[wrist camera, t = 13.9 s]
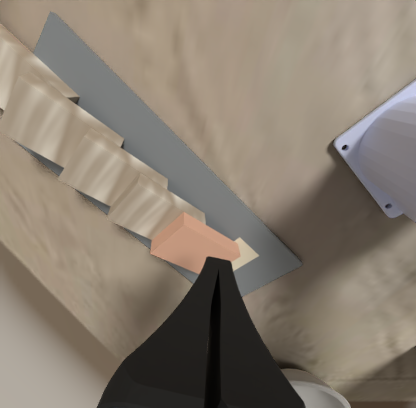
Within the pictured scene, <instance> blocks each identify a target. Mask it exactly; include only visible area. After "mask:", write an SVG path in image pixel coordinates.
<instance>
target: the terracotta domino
mask: <svg viewBox="0 0 416 408" xmlns="http://www.w3.org/2000/svg"><path fill="white" fill-rule="evenodd" d="M150 254H152V255H155V256H157V257H159V258H162V259H164V260H166V261H169V262H171V263H174V264H176V265H178V266H181V267H183V268H185V269H188V270H190V271H193V272H195V273H197V274H200V272H201V270H202V268H203V266H204V263H205V260H206V257H208V256H211V257H215V258H220V259H225V260H229V261H231V262H232V261H234V260H236V259H237V258H239V257H240V256H241V255H240V251H239V247H238V244H237V243H236V242H234V241H232V240H231V239H229V238H227V237H226V236H224V235H222V234H221V233H219V232H217V231H215V230H214V229H212V228H210V227H209V226H207V225H205V224H204V223H202V222H200V221H199V220H197V219H195V218H194V217H192V216H190V215H188V214H187V213H185V212H183V213H182V214H181V215H180V216H179V217H178V218H176V219H175V220H174V221H173V222H172V223H171V224H170V225H168V226H167V227H166V228H165V229H164V230H163V231H162V232H161V233H159V234H158V235H157V236H156V237H155V238H154V239H153V240H152V242H151V250H150Z"/></svg>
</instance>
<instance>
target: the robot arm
mask: <svg viewBox="0 0 416 408" xmlns="http://www.w3.org/2000/svg"><path fill="white" fill-rule="evenodd" d="M333 145H334V147H335V148H336V150H337V151H338V152H339V154H340V155H341V156H342V158H343V159H344V160H345V162H346V163H347V164H348V165H349V167H350V168H351V169H352V171H353V172H354V173H355V175H356V176H357V177H358V179H359V180H360V181H361V183H362V184H363V185H364V187H365V188H366V189H367V190H368V192H369V193H370V194H371V196H372V197H373V198H374V200H375V201H376V202H377V204H378V205H379V206H380V208H381V209H382V210H383V212H384V213H385V214H386V215H387V216H388V217H389V218H395V217H397V216H399V215H401V214H403V213H404V214H405V215H406V216H407V217H409V218H410V219H411V220H412V221H414V222H415V223H416V79H415V80H414V81H412V82H411V83H410V84H408V85H407V86H406V87H404V88H403V89H402V90H400V91H399V92H398V93H396V94H395V95H393V96H392V97H391V98H389V99H388V100H387V101H385V102H384V103H383V104H381V105H380V106H379V107H377V108H376V109H375V110H373V111H372V112H371V113H369V114H368V115H367V116H365V117H364V118H363V119H361V120H360V121H359V122H357V123H356V124H355V125H353V126H352V127H351V128H349V129H348V130H346V131H345V132H344V133H342V134H341V135H340V136H338V137H337V138H336V139H335V140H334V142H333ZM344 145H347V147H346V149H344V150H342V147H343V146H344ZM387 204H389V205H388V206H386V205H387ZM385 206H386V207H385ZM207 347H208V350H207ZM97 408H306V406H305V403H304V401H303V400H302V399H301V397H300V396H299V395H298V393H297V392H296V391H295V389H294V388H293V387H292V385H291V384H290V382H289V381H288V380H287V378H286V377H285V375H284V374H283V372H282V371H281V370H280V368H279V367H278V365H277V364H276V362H275V360H274V359H273V357H272V356H271V354H270V352H269V351H268V349H267V347H266V346H265V344H264V343H263V341H262V339H261V337H260V335H259V334H258V332H257V330H256V328H255V326H254V324H253V322H252V320H251V318H250V316H249V313H248V311H247V309H246V307H245V304H244V302H243V299H242V297H241V294H240V291H239V288H238V285H237V282H236V279H235V276H234V272H233V268H232V263H231V261H229V260H225V259H220V258H215V257H211V256H208V257H206V260H205V263H204V266H203V268H202V270H201V272H200V274H199V276H198V277H197V279H196V281H195V283H194V284H193V286H192V287H191V289H190V290H189V292H188V293H187V295H186V296H185V297H184V299H183V300H182V302H181V303H180V304H179V305H178V307H177V308H176V309H175V310H174V311H173V313H172V314H171V315H170V316H169V317H168V318H167V320H166V321H165V322H164V323H163V324H162V325H161V326H160V327H159V328H158V329H157V330H156V331H155V332H154V333H153V334H152V335H151V336H150V337H149V338H148V339H147V340H146V341H145V342H144V343H143V344H142V345H140V346H139V347H138V348H137V349H136V350H135V351H134V352H132V353H131V354H130V355H129V356H128V357H127V358H126V359H125V360H124V361H123V362H122V364H121V365H120V366H119V368H118V369H117V370H116V372H115V374H114V375H113V377H112V378H111V380H110V381H109V383H108V385H107V387H106V389H105V390H104V392H103V395H102V397H101V399H100V402H99V404H98V406H97Z"/></svg>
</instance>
